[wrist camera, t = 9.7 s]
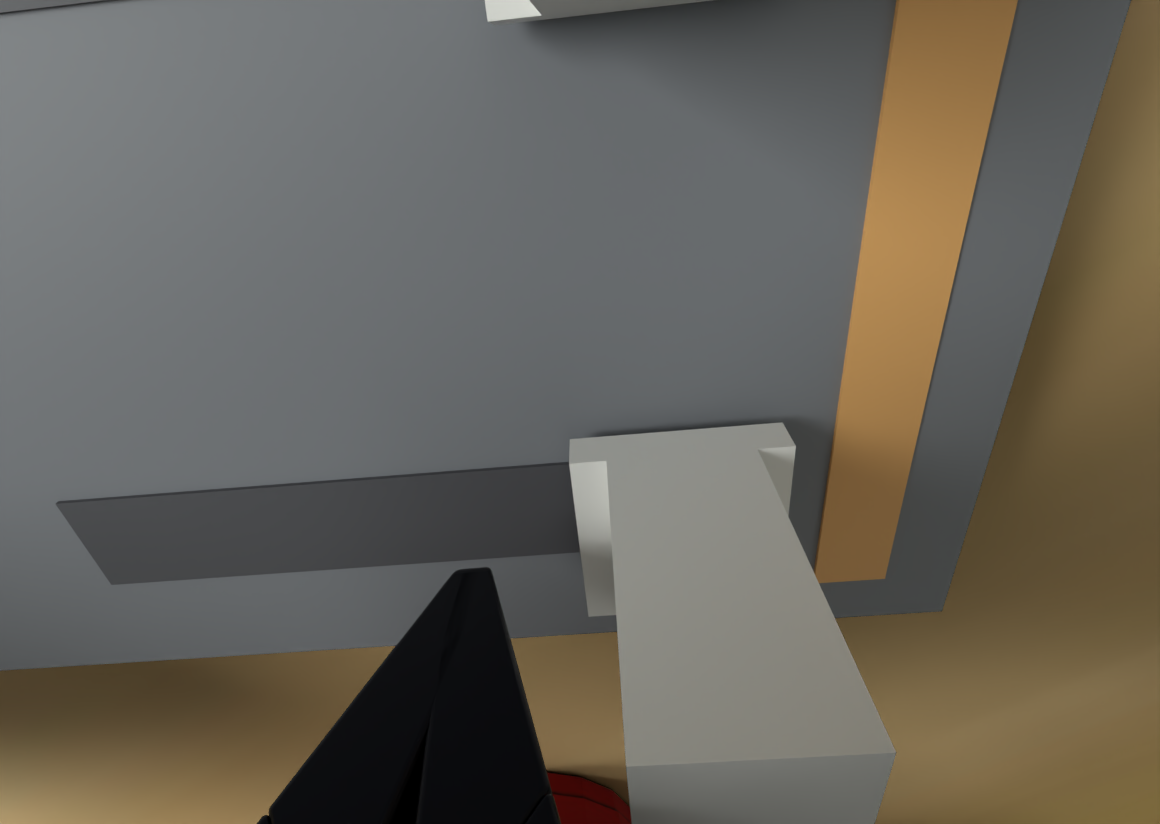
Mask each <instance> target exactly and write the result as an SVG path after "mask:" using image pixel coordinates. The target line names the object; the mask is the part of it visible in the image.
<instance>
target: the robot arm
mask: <svg viewBox="0 0 1160 824" xmlns="http://www.w3.org/2000/svg"><path fill="white" fill-rule="evenodd" d="M257 824H561V821H560V818H559V814H558V810H557V807H556V803H555V799H554V797H553V795H552V790H551V786H550V782H549V779H548V775H547V771H546V768H545V764H544V760H543V757H542V753H541V749H540V746H539V742H538V738H537V735H536V731H535V727H534V724H533V720H532V716H531V713H530V709H529V705H528V702H527V698H526V694H525V691H524V687H523V683H522V680H521V676H520V672H519V669H518V665H517V661H516V658H515V654H514V650H513V647H512V643H511V639H510V636H509V632H508V628H507V625H506V621H505V617H504V614H503V610H502V606H501V603H500V599H499V595H498V592H497V588H496V584H495V581H494V577H493V573H492V570H491V569H490V568H489V567H481V568H469V569H459V570H456V571H455V572H454V573H453V574H452V575H451V576H450V577H449V579H448V580H447V581H446V582H445V584H444V585H443V586H442V587H441V589H440V590H439V591H438V593H437V594H436V595H435V596H434V598H433V599H432V600H431V602H430V603H429V604H428V605H427V607H426V608H425V609H424V611H423V612H422V613H421V614H420V616H419V617H418V618H417V620H416V621H415V622H414V623H413V625H412V626H411V627H410V629H409V630H408V631H407V632H406V634H405V635H404V636H403V637H402V639H401V640H400V641H399V643H398V644H397V645H396V646H395V648H394V649H393V650H392V652H391V653H390V654H389V655H388V657H387V658H386V659H385V661H384V662H383V663H382V664H381V666H380V667H379V668H378V670H377V671H376V672H375V673H374V675H373V676H372V677H371V678H370V680H369V681H368V682H367V684H366V685H365V686H364V687H363V689H362V690H361V691H360V693H359V694H358V695H357V696H356V698H355V699H354V700H353V702H352V703H351V704H350V705H349V707H348V708H347V709H346V711H345V712H344V713H343V714H342V716H341V717H340V718H339V720H338V721H337V722H336V723H335V725H334V726H333V727H332V728H331V730H330V731H329V732H328V734H327V735H326V736H325V737H324V739H323V740H322V741H321V743H320V744H319V745H318V746H317V748H316V749H315V750H314V752H313V753H312V754H311V755H310V757H309V758H308V759H307V761H306V762H305V763H304V764H303V766H302V767H301V768H300V769H299V771H298V772H297V773H296V775H295V776H294V777H293V778H292V780H291V781H290V782H289V784H288V785H287V786H286V787H285V789H284V790H283V791H282V793H281V794H280V795H279V796H278V798H277V799H276V800H275V802H274V803H273V804H272V805H271V807H270V808H269V816H268V815H265V816H263V817H262V818H261V819H260V820H259V822H258V823H257Z"/></svg>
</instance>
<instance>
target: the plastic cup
mask: <svg viewBox="0 0 1160 824" xmlns="http://www.w3.org/2000/svg"><path fill="white" fill-rule="evenodd" d="M547 775H548V779H549V782H550V786H551V790H552V795H553V797H554V799H555V803H556V807H557V810H558V814H559V818H560V821H561V824H632V822H631V812H630V807H629V806H628V805H627V804H626V803H625V802H624V801H623V800H622V799H621V798H620V797H619V796H618V795H616V794H615V793H614V792H613V791H612V790H611V789H608V788H606V787H603V786H601V785H599V784H596V783H594V782H591V781H589V780H587V779H584V778H582V777H575V776H568V775H561V774H554V773H547Z"/></svg>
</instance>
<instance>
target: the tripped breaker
mask: <svg viewBox="0 0 1160 824" xmlns="http://www.w3.org/2000/svg"><path fill="white" fill-rule="evenodd" d="M795 450H796V445H795V444H794V442H793V440H792V438H791V437H790V435H789V433H788V431H787V429H786V428H785V426H784V424H783V422H780V423H768V424H755V425H742V426H730V427H717V428H705V429H692V430H679V431H667V432H654V433H641V434H629V435H616V436H603V437H591V438H578V439H570V448H569V467H570V475H571V483H572V491H573V499H574V506H575V514H576V522H577V530H578V538H579V546H580V554H581V561H582V569H583V577H584V585H585V593H586V601H587V609H588V616H589V617H593V616H608V615H616V619H617V634H618V650H619V665H620V681H621V696H622V712H623V727H624V743H625V758H626V771H627V781H628V791H629V801H630V811H631V822H632V824H875V821H876V817H877V814H878V811H879V808H880V804H881V801H882V798H883V795H884V791H885V788H886V785H887V781H888V778H889V775H890V772H891V768H892V765H893V762H894V759H895V755H896V751H895V749H894V746H893V744H892V742H891V740H890V738H889V736H888V733H887V731H886V729H885V727H884V725H883V722H882V720H881V718H880V716H879V714H878V711H877V709H876V707H875V705H874V703H873V701H872V698H871V696H870V694H869V692H868V690H867V687H866V685H865V683H864V681H863V679H862V676H861V674H860V672H859V670H858V668H857V666H856V663H855V661H854V659H853V657H852V655H851V652H850V650H849V648H848V646H847V644H846V641H845V639H844V637H843V635H842V633H841V631H840V628H839V626H838V624H837V622H836V620H835V617H834V615H833V613H832V611H831V609H830V607H829V604H828V602H827V600H826V598H825V596H824V593H823V591H822V589H821V587H820V585H819V582H818V580H817V578H816V576H815V574H814V572H813V569H812V567H811V565H810V563H809V561H808V558H807V556H806V554H805V552H804V550H803V547H802V545H801V543H800V541H799V539H798V537H797V534H796V532H795V530H794V528H793V526H792V523H791V521H790V519H789V517H788V515H789V506H790V496H791V487H792V478H793V468H794V459H795Z"/></svg>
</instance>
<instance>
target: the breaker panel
mask: <svg viewBox="0 0 1160 824" xmlns="http://www.w3.org/2000/svg"><path fill="white" fill-rule="evenodd" d="M1130 2H1131V0H712V1H704V2H695V3H686V4H677V5H668V6H660V7H651V8H642V9H633V10H624V11H616V12H607V13H598V14H589V15H581V16H572V17H563V18H554V19H545V20H537V21H528V22H519V23H510V24H501V25H494V24H492V23H490V22H488V20H487V14H486V7H485V0H0V671H2V670H18V669H34V668H50V667H65V666H81V665H97V664H113V663H129V662H145V661H161V660H176V659H192V658H208V657H224V656H240V655H256V654H271V653H287V652H303V651H319V650H335V649H351V648H367V647H382V646H396V645H397V644H398V643H399V641H400V640H401V639H402V637H403V636H404V635H405V634H406V632H407V631H408V630H409V629H410V627H411V626H412V625H413V623H414V622H415V621H416V620H417V618H418V617H419V616H420V614H421V613H422V612H423V611H424V609H425V608H426V607H427V605H428V604H429V603H430V602H431V600H432V599H433V598H434V596H435V595H436V594H437V593H438V591H439V590H440V589H441V587H442V586H443V585H444V584H445V582H446V581H447V580H448V579H449V577H450V576H451V575H452V574H453V573H454V572H455V571H456V570H459V569H469V568H481V567H489V568H490V569H491V570H492V573H493V577H494V581H495V584H496V588H497V592H498V595H499V599H500V603H501V606H502V610H503V614H504V617H505V621H506V625H507V628H508V632H509V636H510V638H525V637H541V636H557V635H573V634H588V633H604V632H617V619H616V615H608V616H593V617H589V616H588V609H587V601H586V593H585V585H584V577H583V569H582V561H581V554H580V546H579V538H578V530H577V522H576V514H575V506H574V499H573V491H572V483H571V475H570V467H569V448H570V439H578V438H591V437H603V436H616V435H629V434H641V433H654V432H667V431H679V430H692V429H705V428H717V427H730V426H742V425H755V424H768V423H780V422H783V424H784V426H785V428H786V429H787V431H788V433H789V435H790V437H791V438H792V440H793V442H794V444H795V445H796V450H795V459H794V468H793V478H792V487H791V496H790V506H789V515H788V517H789V519H790V521H791V523H792V526H793V528H794V530H795V532H796V534H797V537H798V539H799V541H800V543H801V545H802V547H803V550H804V552H805V554H806V556H807V558H808V561H809V563H810V565H811V567H812V569H813V572H814V574H815V576H816V578H817V580H818V582H819V585H820V587H821V589H822V591H823V593H824V596H825V598H826V600H827V602H828V604H829V607H830V609H831V611H832V613H833V615H834V617H835V618H842V617H858V616H874V615H890V614H905V613H921V612H937V611H942V610H943V606H944V603H945V600H946V597H947V593H948V590H949V587H950V584H951V580H952V577H953V574H954V571H955V568H956V564H957V561H958V558H959V555H960V551H961V548H962V545H963V542H964V538H965V535H966V532H967V529H968V526H969V522H970V519H971V516H972V513H973V509H974V506H975V503H976V500H977V496H978V493H979V490H980V487H981V484H982V480H983V477H984V474H985V471H986V467H987V464H988V461H989V458H990V454H991V451H992V448H993V445H994V442H995V438H996V435H997V432H998V429H999V425H1000V422H1001V419H1002V416H1003V413H1004V409H1005V406H1006V403H1007V400H1008V396H1009V393H1010V390H1011V387H1012V383H1013V380H1014V377H1015V374H1016V371H1017V367H1018V364H1019V361H1020V358H1021V354H1022V351H1023V348H1024V345H1025V341H1026V338H1027V335H1028V332H1029V329H1030V325H1031V322H1032V319H1033V316H1034V312H1035V309H1036V306H1037V303H1038V299H1039V296H1040V293H1041V290H1042V287H1043V283H1044V280H1045V277H1046V274H1047V270H1048V267H1049V264H1050V261H1051V257H1052V254H1053V251H1054V248H1055V245H1056V241H1057V238H1058V235H1059V232H1060V228H1061V225H1062V222H1063V219H1064V216H1065V212H1066V209H1067V206H1068V203H1069V199H1070V196H1071V193H1072V190H1073V186H1074V183H1075V180H1076V177H1077V174H1078V170H1079V167H1080V164H1081V161H1082V157H1083V154H1084V151H1085V148H1086V144H1087V141H1088V138H1089V135H1090V132H1091V128H1092V125H1093V122H1094V119H1095V115H1096V112H1097V109H1098V106H1099V102H1100V99H1101V96H1102V93H1103V90H1104V86H1105V83H1106V80H1107V77H1108V73H1109V70H1110V67H1111V64H1112V60H1113V57H1114V54H1115V51H1116V48H1117V44H1118V41H1119V38H1120V35H1121V31H1122V28H1123V25H1124V22H1125V18H1126V15H1127V12H1128V9H1129V6H1130Z"/></svg>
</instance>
